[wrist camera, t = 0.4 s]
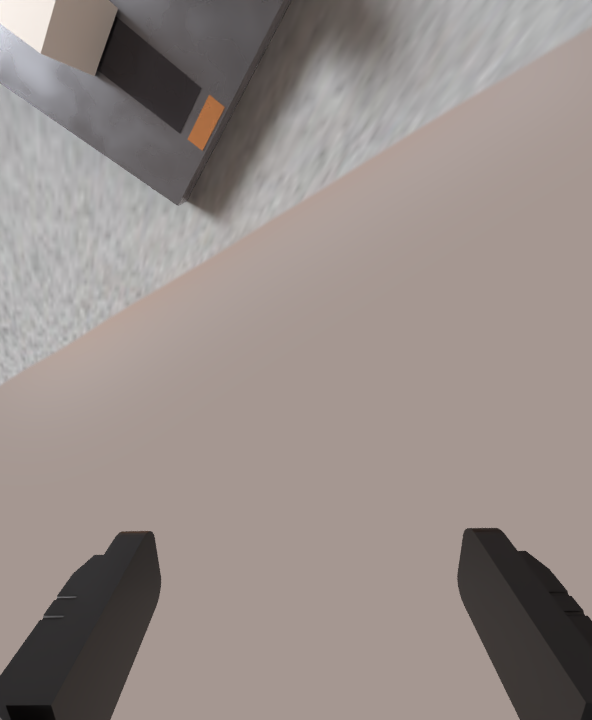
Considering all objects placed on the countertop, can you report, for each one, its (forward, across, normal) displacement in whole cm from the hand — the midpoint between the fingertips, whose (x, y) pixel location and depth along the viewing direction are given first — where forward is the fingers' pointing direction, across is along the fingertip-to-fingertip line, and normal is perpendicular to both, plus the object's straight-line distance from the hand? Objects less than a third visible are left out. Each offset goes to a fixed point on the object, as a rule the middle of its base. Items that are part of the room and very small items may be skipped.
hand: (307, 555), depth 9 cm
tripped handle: (+19, +13, -21) cm, 31 cm away
